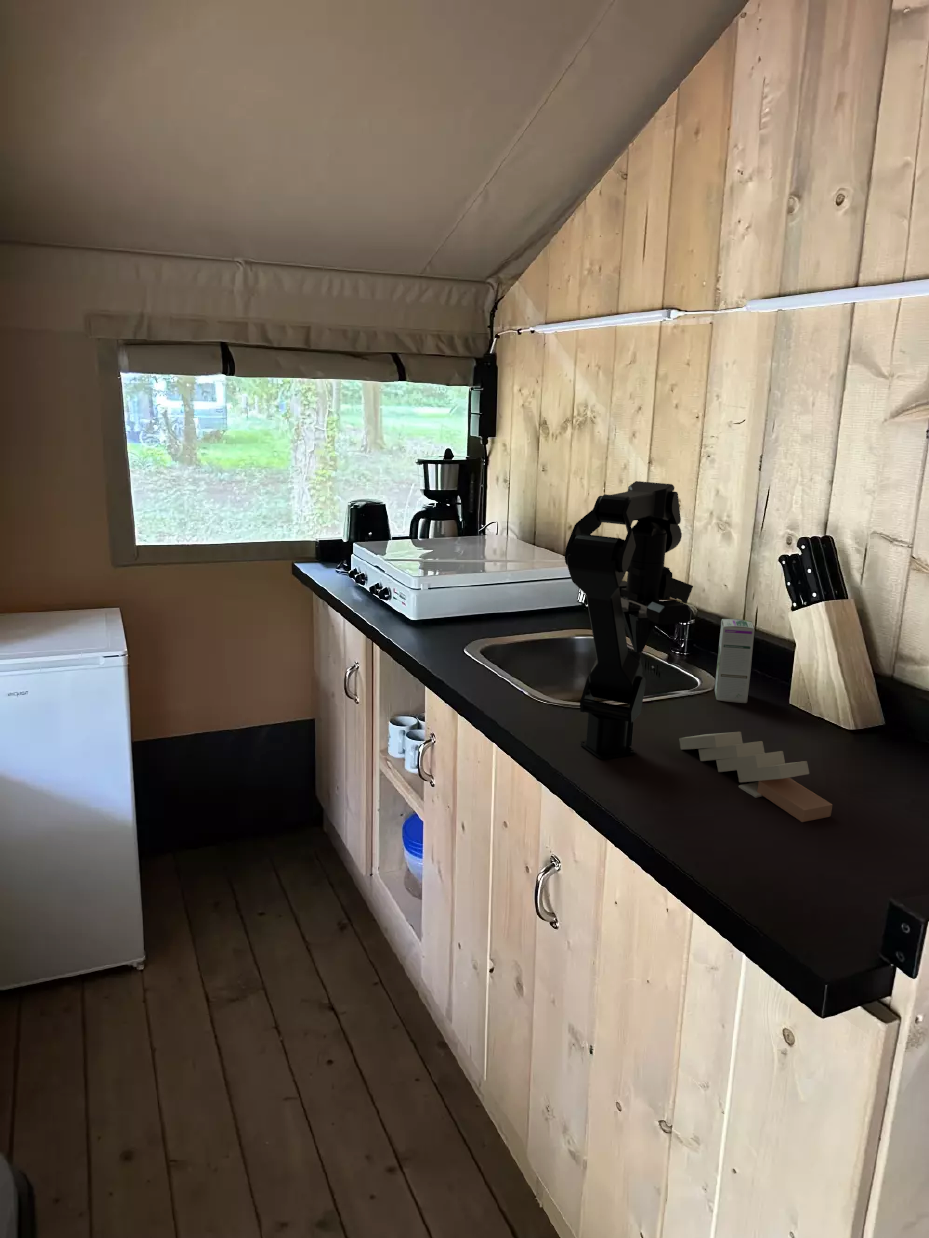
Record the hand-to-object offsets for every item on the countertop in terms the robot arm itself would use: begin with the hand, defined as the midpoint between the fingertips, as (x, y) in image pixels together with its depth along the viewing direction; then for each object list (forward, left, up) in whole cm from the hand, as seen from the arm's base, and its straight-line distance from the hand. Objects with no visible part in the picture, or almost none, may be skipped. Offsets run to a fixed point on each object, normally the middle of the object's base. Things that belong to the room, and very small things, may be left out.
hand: (638, 651), depth 151 cm
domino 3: (+4, -20, -12) cm, 24 cm away
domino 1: (+4, -11, -12) cm, 17 cm away
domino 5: (+4, -29, -12) cm, 32 cm away
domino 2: (+4, -16, -12) cm, 21 cm away
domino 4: (+4, -25, -12) cm, 28 cm away
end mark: (+4, -28, -13) cm, 31 cm away
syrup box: (+26, +6, -13) cm, 30 cm away
